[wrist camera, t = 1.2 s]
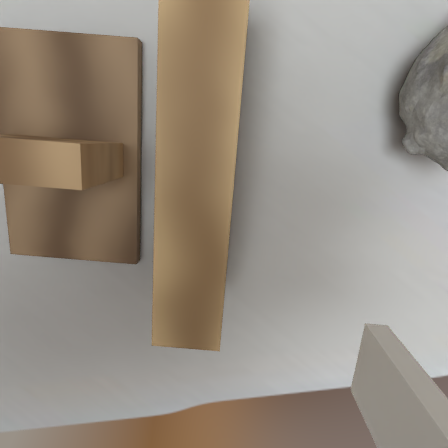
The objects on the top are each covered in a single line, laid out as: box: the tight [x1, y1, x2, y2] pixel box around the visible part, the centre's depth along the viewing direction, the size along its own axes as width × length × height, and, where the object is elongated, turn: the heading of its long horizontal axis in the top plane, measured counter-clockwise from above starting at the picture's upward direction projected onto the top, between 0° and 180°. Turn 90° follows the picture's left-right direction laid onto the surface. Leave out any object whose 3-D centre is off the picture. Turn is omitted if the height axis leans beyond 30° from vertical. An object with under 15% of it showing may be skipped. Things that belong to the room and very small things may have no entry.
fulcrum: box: [0, 27, 142, 264], centre depth 20 cm, size 10×16×8 cm, turn 176°
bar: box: [152, 0, 250, 351], centre depth 18 cm, size 4×20×4 cm, turn 175°
